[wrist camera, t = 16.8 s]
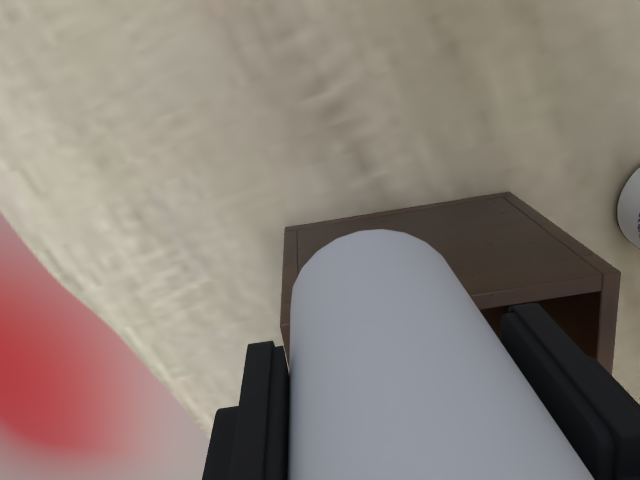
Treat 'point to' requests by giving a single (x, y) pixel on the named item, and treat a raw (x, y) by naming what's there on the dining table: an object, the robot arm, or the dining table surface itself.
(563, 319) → the chest
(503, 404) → the beverage can
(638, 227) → the bath foam
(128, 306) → the dining table surface
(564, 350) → the robot arm
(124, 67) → the dining table surface
